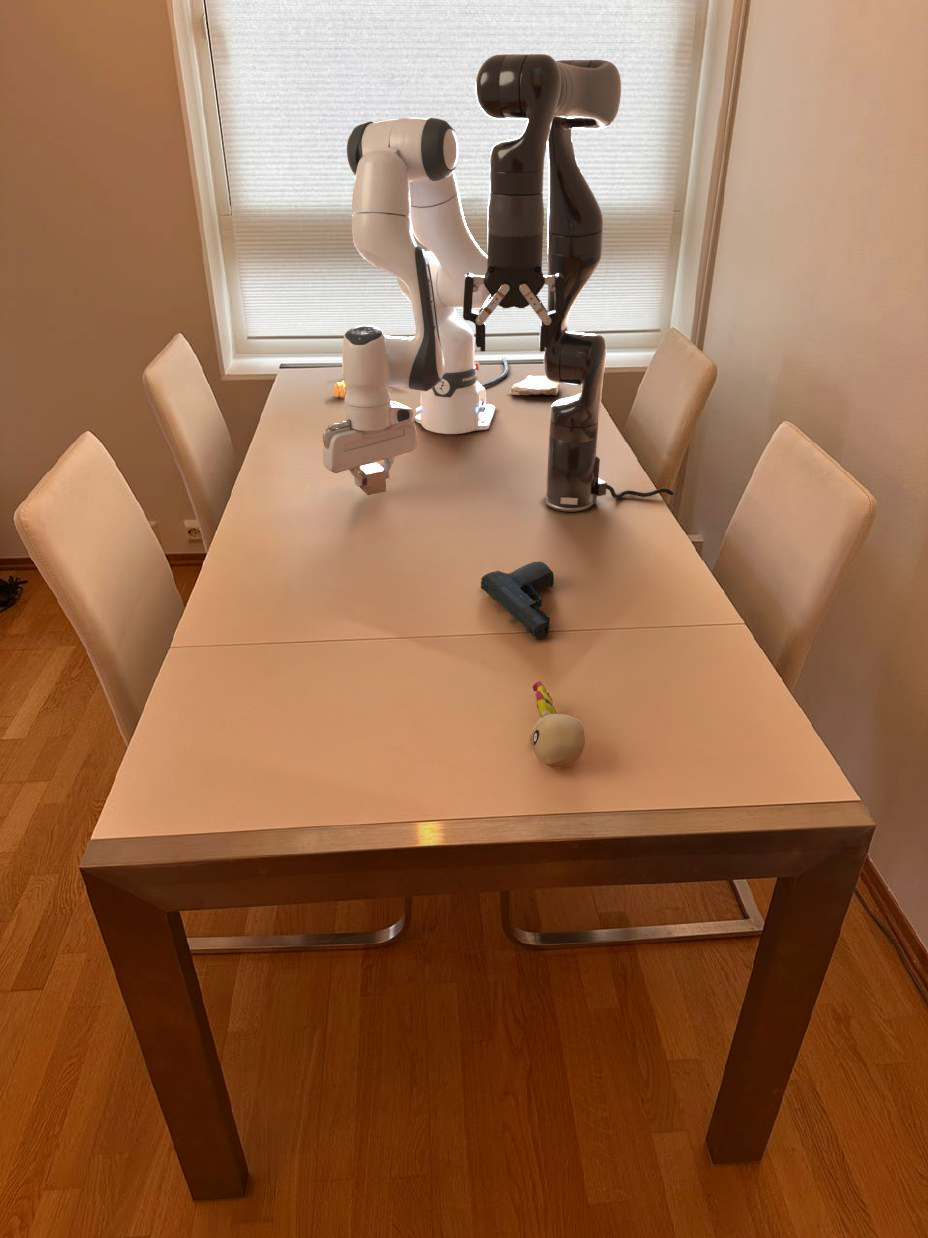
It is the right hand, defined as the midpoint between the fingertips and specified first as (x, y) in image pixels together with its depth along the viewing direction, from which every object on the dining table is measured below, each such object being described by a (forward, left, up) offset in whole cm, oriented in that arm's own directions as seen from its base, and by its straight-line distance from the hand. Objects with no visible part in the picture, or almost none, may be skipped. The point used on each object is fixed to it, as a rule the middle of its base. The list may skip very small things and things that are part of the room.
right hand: (512, 350), depth 129 cm
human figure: (-22, -113, -40) cm, 122 cm away
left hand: (+5, -45, -36) cm, 58 cm away
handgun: (-1, +8, -40) cm, 40 cm away
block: (+6, -45, -38) cm, 59 cm away
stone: (-59, -87, -40) cm, 112 cm away
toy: (+15, +37, -40) cm, 56 cm away
